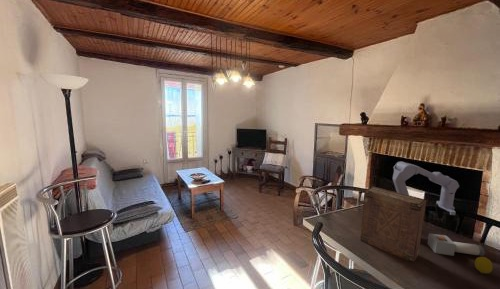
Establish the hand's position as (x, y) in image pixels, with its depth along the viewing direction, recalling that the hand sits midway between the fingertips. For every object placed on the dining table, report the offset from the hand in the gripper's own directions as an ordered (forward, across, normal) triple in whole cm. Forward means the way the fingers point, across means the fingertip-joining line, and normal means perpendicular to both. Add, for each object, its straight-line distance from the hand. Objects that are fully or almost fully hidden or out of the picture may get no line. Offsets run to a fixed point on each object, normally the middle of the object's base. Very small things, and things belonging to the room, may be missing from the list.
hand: (443, 221), depth 126 cm
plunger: (+4, -14, +7) cm, 16 cm away
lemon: (+10, -29, -2) cm, 31 cm away
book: (+10, -19, +33) cm, 39 cm away
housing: (+10, -14, +7) cm, 19 cm away
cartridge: (+10, -14, -4) cm, 17 cm away
